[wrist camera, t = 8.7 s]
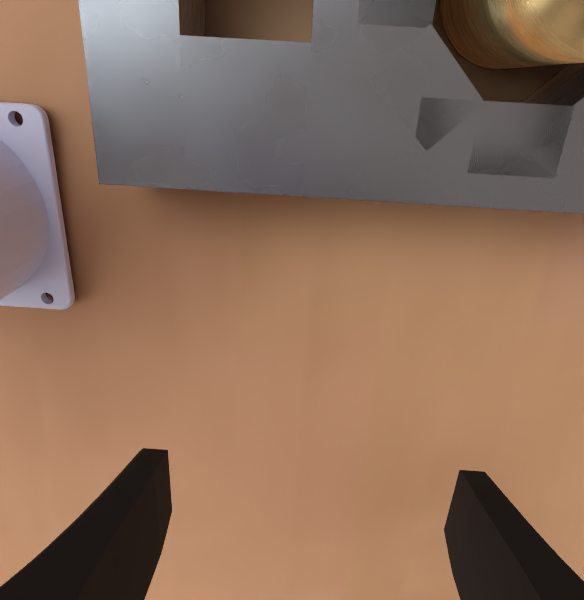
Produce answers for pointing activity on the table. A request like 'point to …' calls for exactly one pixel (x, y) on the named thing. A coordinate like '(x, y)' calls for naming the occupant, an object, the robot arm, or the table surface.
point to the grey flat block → (322, 111)
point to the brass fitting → (515, 31)
